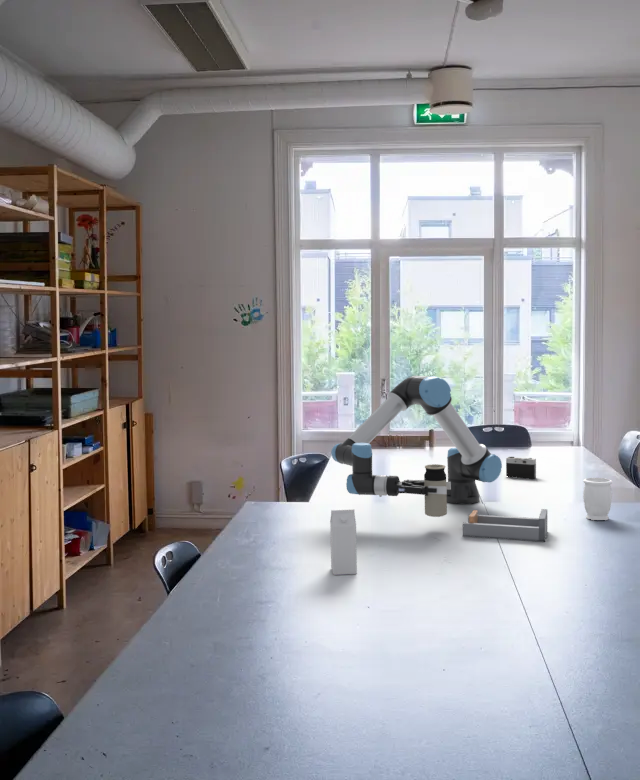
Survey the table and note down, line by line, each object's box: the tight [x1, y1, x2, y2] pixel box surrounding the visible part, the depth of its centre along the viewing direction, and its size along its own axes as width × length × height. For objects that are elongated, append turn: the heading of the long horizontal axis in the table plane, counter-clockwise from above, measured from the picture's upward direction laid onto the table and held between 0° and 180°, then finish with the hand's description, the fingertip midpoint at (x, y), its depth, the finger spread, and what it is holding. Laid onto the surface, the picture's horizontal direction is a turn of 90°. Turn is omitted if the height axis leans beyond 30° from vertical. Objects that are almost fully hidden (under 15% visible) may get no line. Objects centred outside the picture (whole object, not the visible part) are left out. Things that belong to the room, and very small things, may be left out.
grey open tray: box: [462, 508, 548, 543], centre depth 279 cm, size 15×28×8 cm, turn 71°
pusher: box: [469, 509, 479, 523], centre depth 283 cm, size 10×2×6 cm, turn 161°
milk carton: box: [329, 509, 358, 576], centre depth 238 cm, size 7×7×19 cm
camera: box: [505, 456, 537, 480], centre depth 388 cm, size 14×8×10 cm, turn 60°
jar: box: [582, 477, 613, 521], centre depth 299 cm, size 11×10×15 cm
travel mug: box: [423, 463, 448, 518], centre depth 287 cm, size 8×8×18 cm
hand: (448, 488), depth 285 cm, fingers closed on travel mug, 8 cm apart
